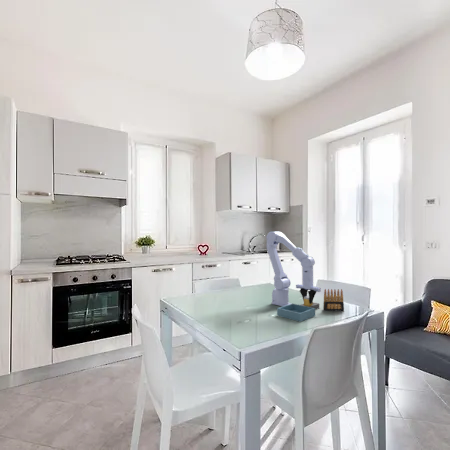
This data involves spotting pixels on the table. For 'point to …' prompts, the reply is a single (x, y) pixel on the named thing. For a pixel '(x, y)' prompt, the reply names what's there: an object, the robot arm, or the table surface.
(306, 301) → the block
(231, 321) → the table surface
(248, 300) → the table surface
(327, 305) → the ammunition clip
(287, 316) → the parts tray
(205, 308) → the table surface
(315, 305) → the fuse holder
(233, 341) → the table surface
